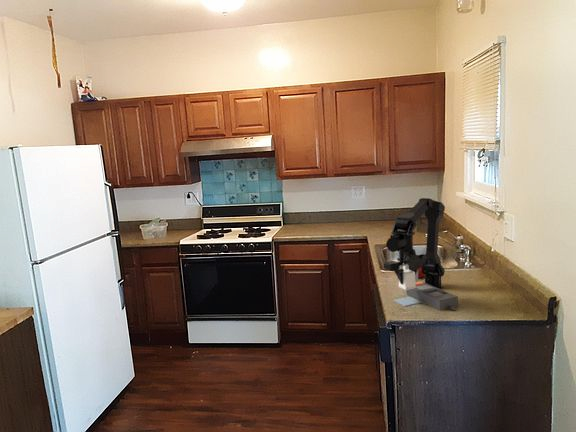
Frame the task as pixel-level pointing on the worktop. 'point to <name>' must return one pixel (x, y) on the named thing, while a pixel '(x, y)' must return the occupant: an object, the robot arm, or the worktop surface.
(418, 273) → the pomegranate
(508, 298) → the worktop surface
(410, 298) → the mat
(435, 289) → the gray recessed block
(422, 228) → the clothes iron
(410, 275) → the block
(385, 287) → the worktop surface
